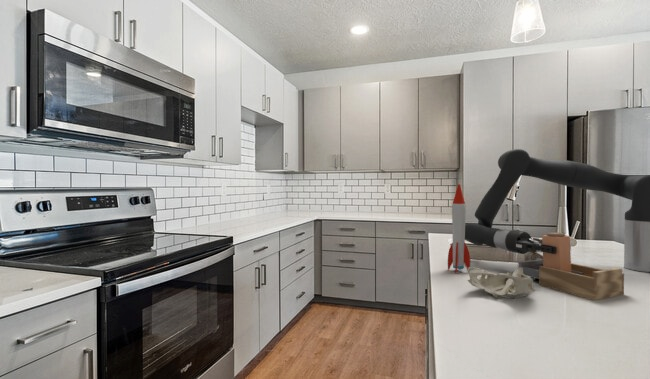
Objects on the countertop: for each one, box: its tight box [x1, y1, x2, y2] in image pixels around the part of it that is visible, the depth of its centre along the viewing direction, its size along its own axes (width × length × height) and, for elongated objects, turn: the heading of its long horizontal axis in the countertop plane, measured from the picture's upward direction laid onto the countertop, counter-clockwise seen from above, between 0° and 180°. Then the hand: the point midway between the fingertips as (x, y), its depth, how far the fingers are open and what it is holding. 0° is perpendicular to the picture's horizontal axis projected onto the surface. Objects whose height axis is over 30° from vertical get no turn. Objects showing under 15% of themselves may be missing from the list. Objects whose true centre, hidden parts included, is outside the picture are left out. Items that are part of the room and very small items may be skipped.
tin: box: [541, 232, 572, 273], centre depth 101 cm, size 5×5×13 cm
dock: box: [538, 262, 625, 301], centre depth 95 cm, size 13×14×7 cm
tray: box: [517, 258, 583, 280], centre depth 103 cm, size 10×13×4 cm
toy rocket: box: [447, 183, 471, 274], centre depth 115 cm, size 6×6×30 cm
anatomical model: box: [467, 264, 536, 299], centre depth 91 cm, size 15×9×25 cm
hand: (562, 249), depth 99 cm, fingers open, 6 cm apart
